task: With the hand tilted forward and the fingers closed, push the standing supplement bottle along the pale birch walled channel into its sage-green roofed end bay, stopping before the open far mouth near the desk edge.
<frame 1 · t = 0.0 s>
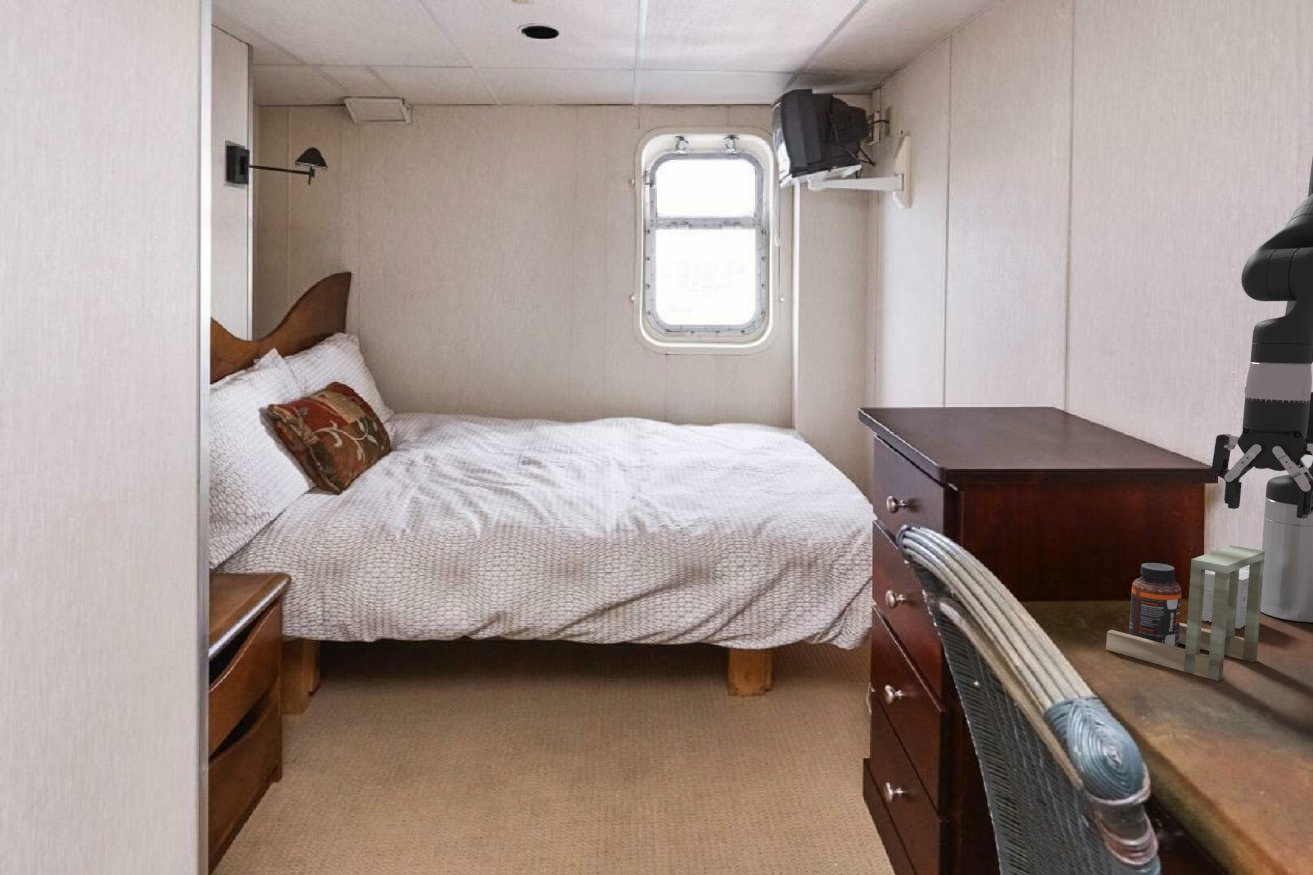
hand: (1266, 512, 131), 17 cm above the table, tool pointing down, fingers open, 8 cm apart
channel: (1180, 654, 125), on the table
supplement bottle: (1152, 649, 127), on the table
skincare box: (1225, 621, 139), on the table
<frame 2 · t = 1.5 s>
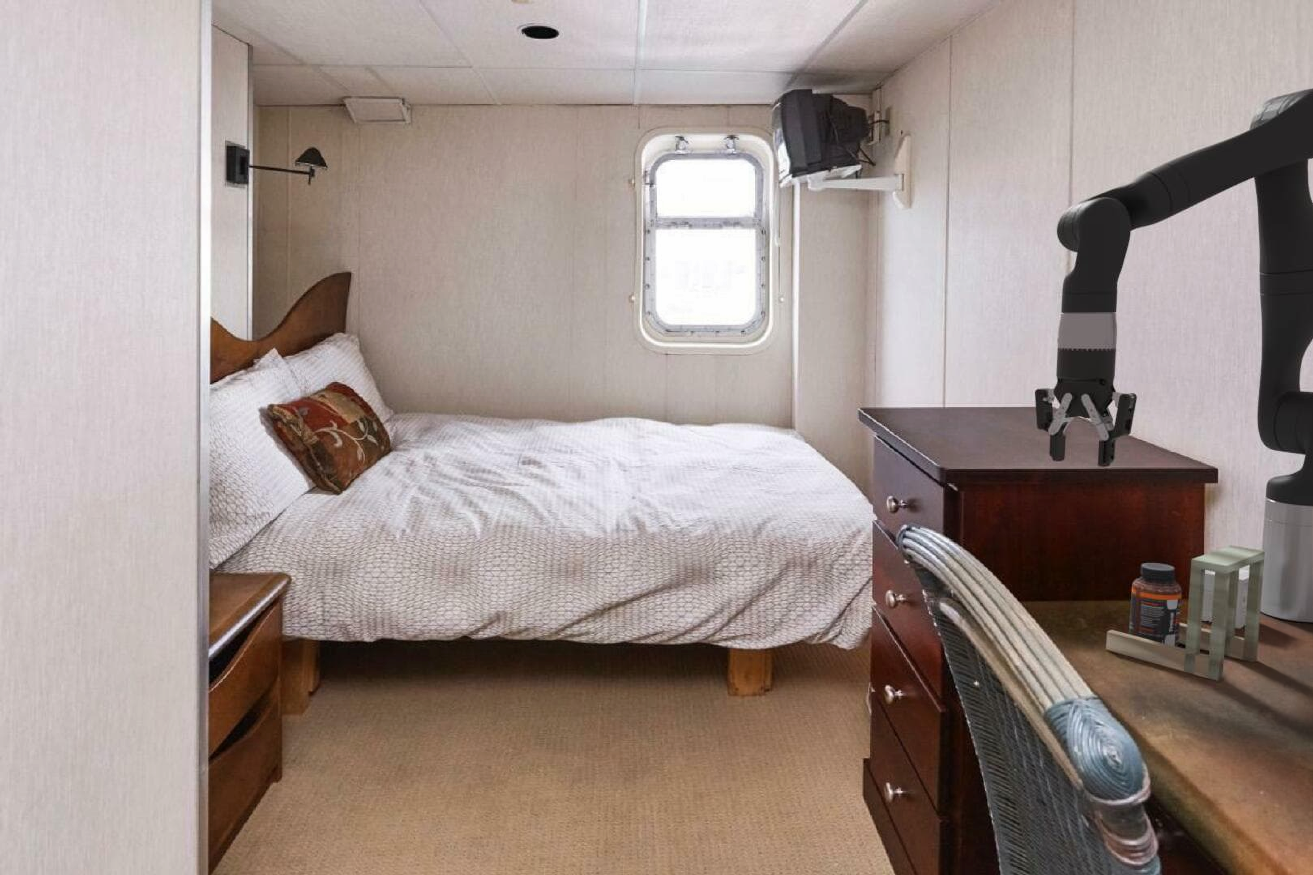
hand: (1080, 463, 134), 24 cm above the table, tool pointing down, fingers open, 6 cm apart
nothing on the table moved.
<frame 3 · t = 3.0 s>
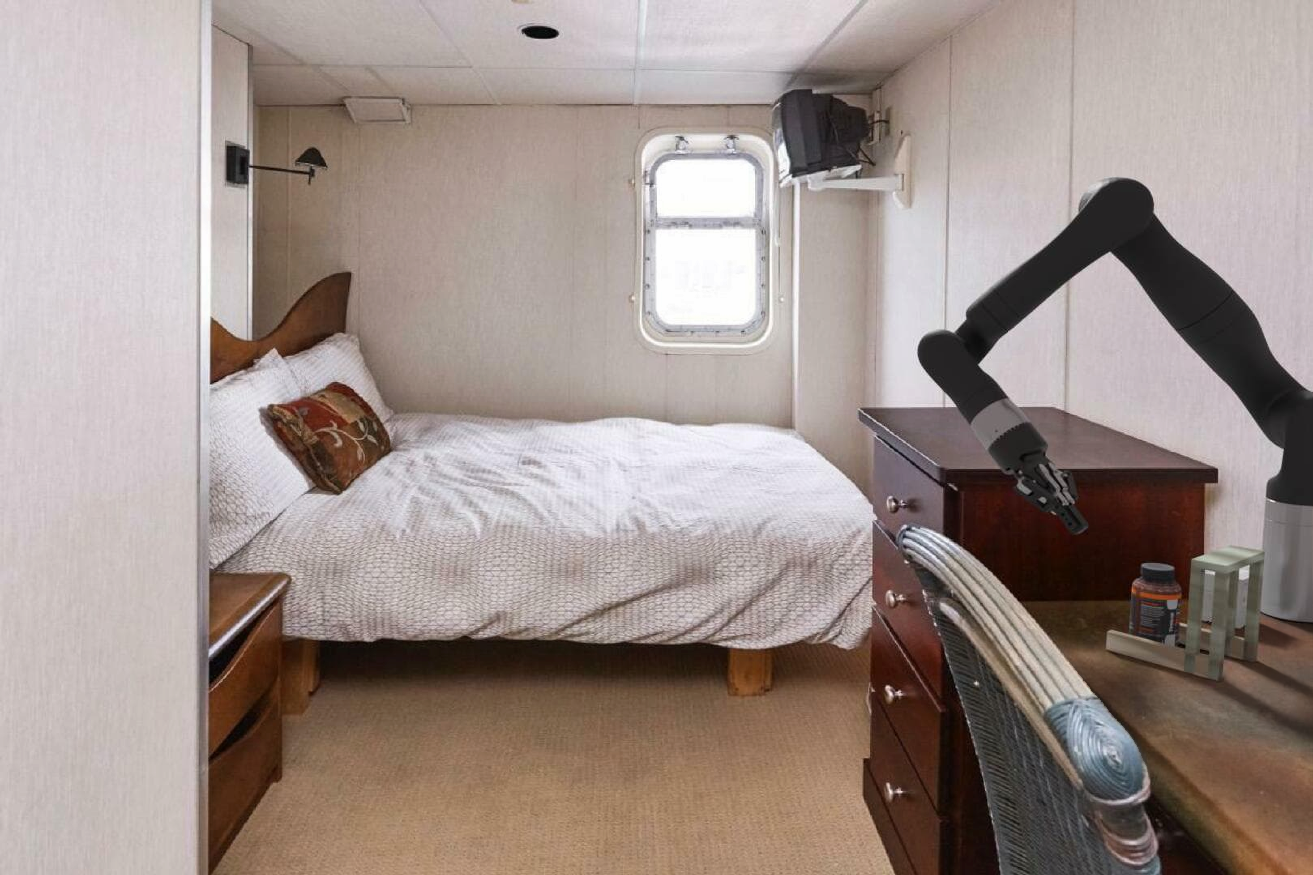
hand: (1081, 530, 134), 14 cm above the table, tool tilted 45°, fingers closed
nothing on the table moved.
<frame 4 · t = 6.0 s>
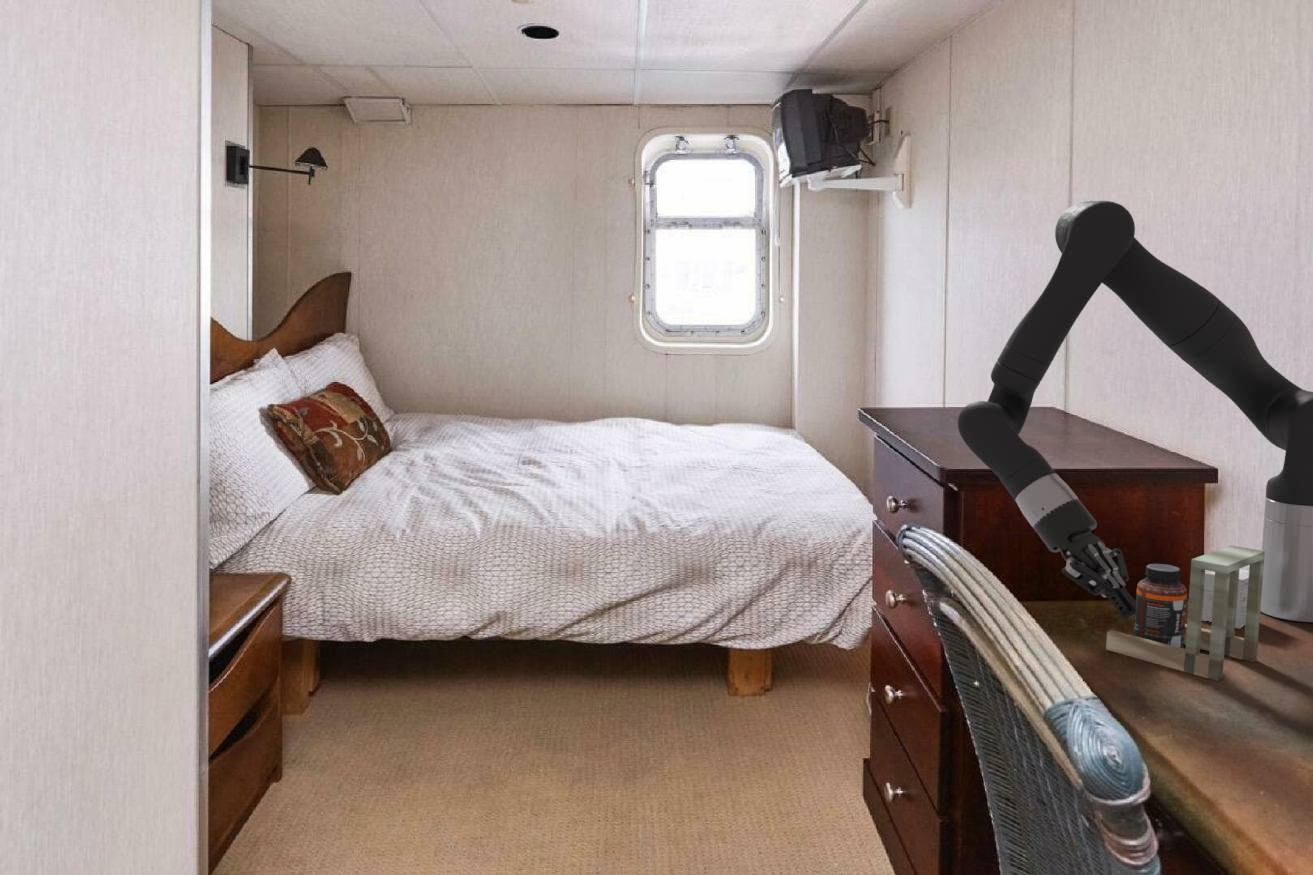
hand: (1133, 615, 129), 4 cm above the table, tool tilted 45°, fingers closed
supplement bottle: (1158, 650, 127), on the table, touching gripper
everything else where it was.
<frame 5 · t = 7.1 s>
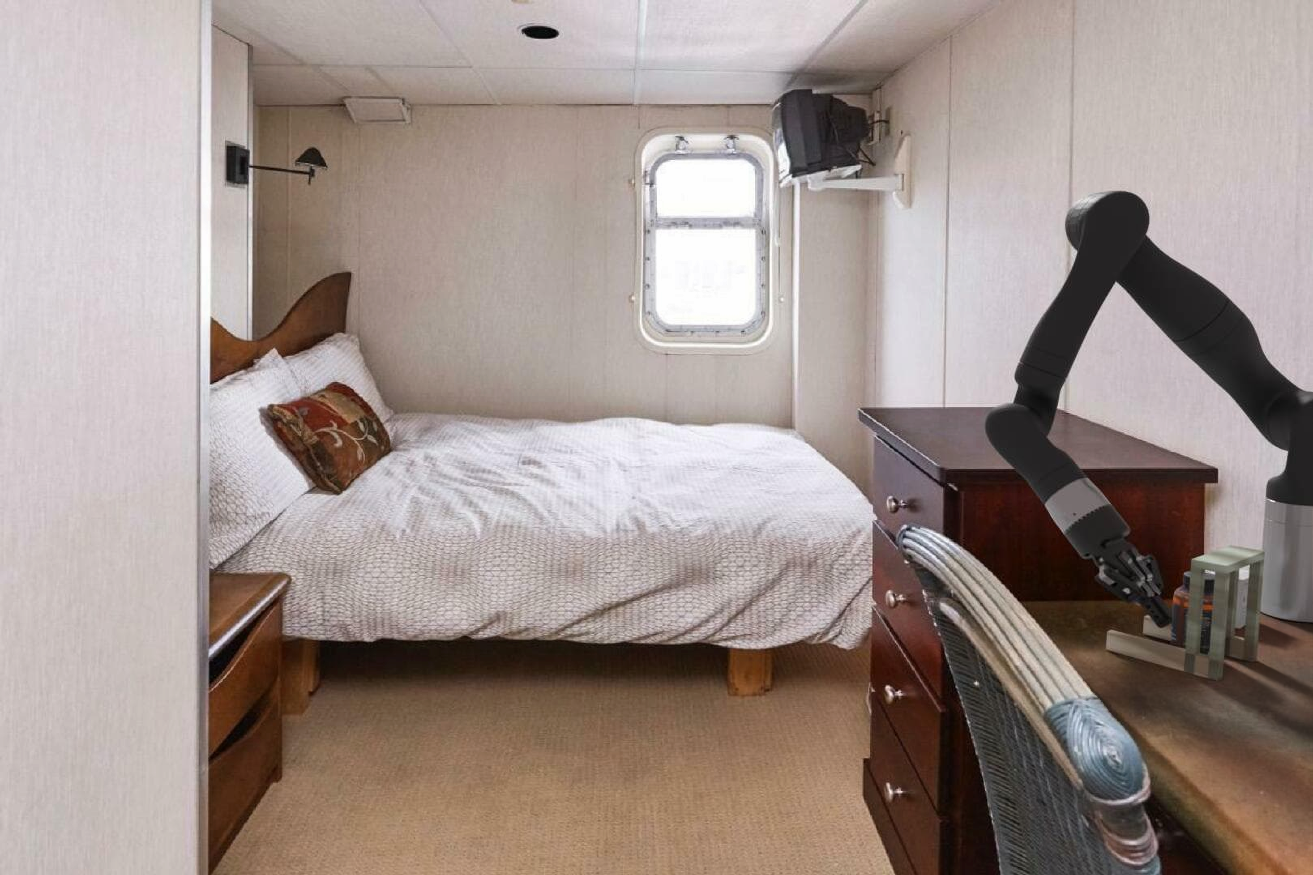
hand: (1168, 624, 125), 4 cm above the table, tool tilted 45°, fingers closed
supplement bottle: (1195, 660, 123), on the table, touching gripper
everything else where it was.
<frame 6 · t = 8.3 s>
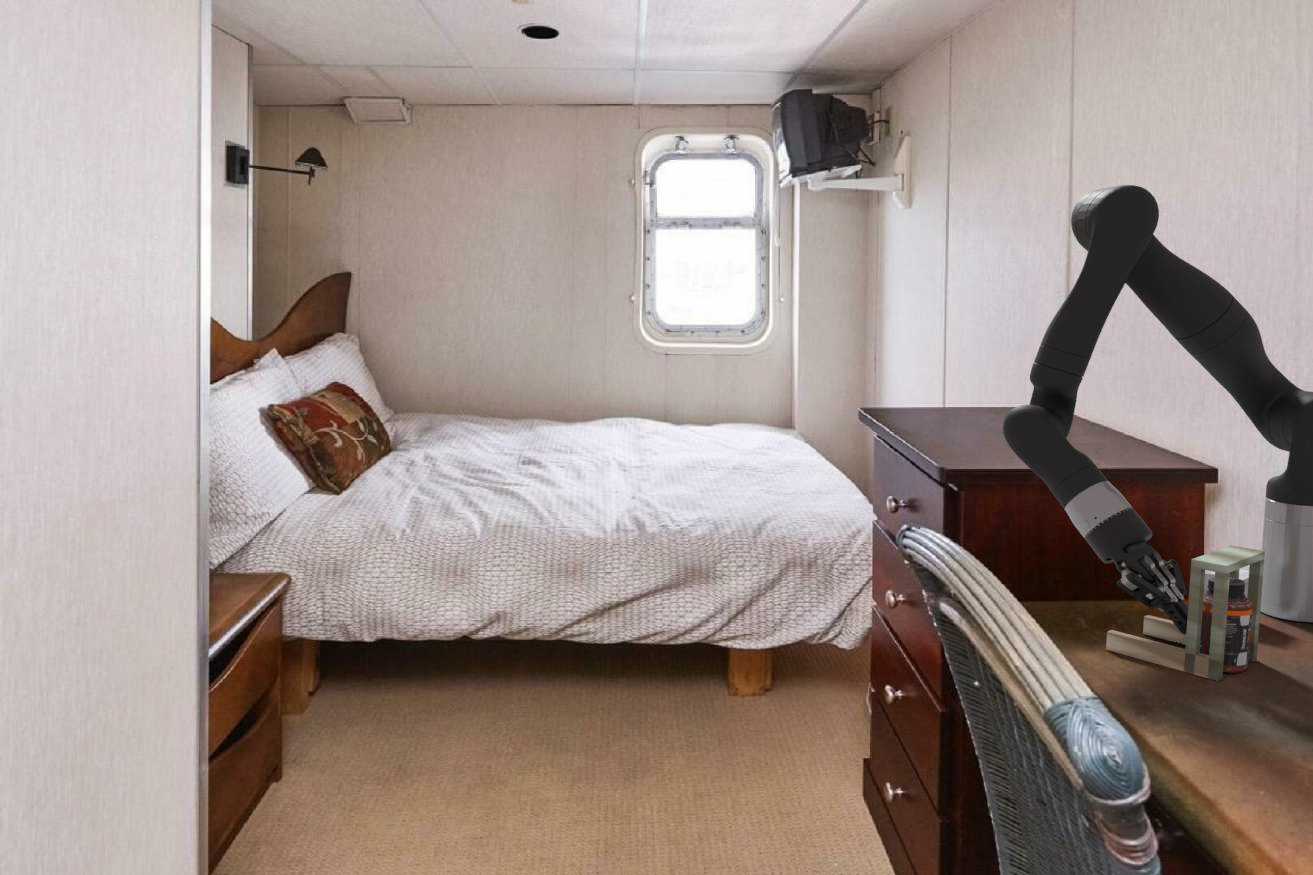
hand: (1192, 630, 123), 4 cm above the table, tool tilted 45°, fingers closed
supplement bottle: (1220, 667, 121), on the table, touching gripper
everything else where it was.
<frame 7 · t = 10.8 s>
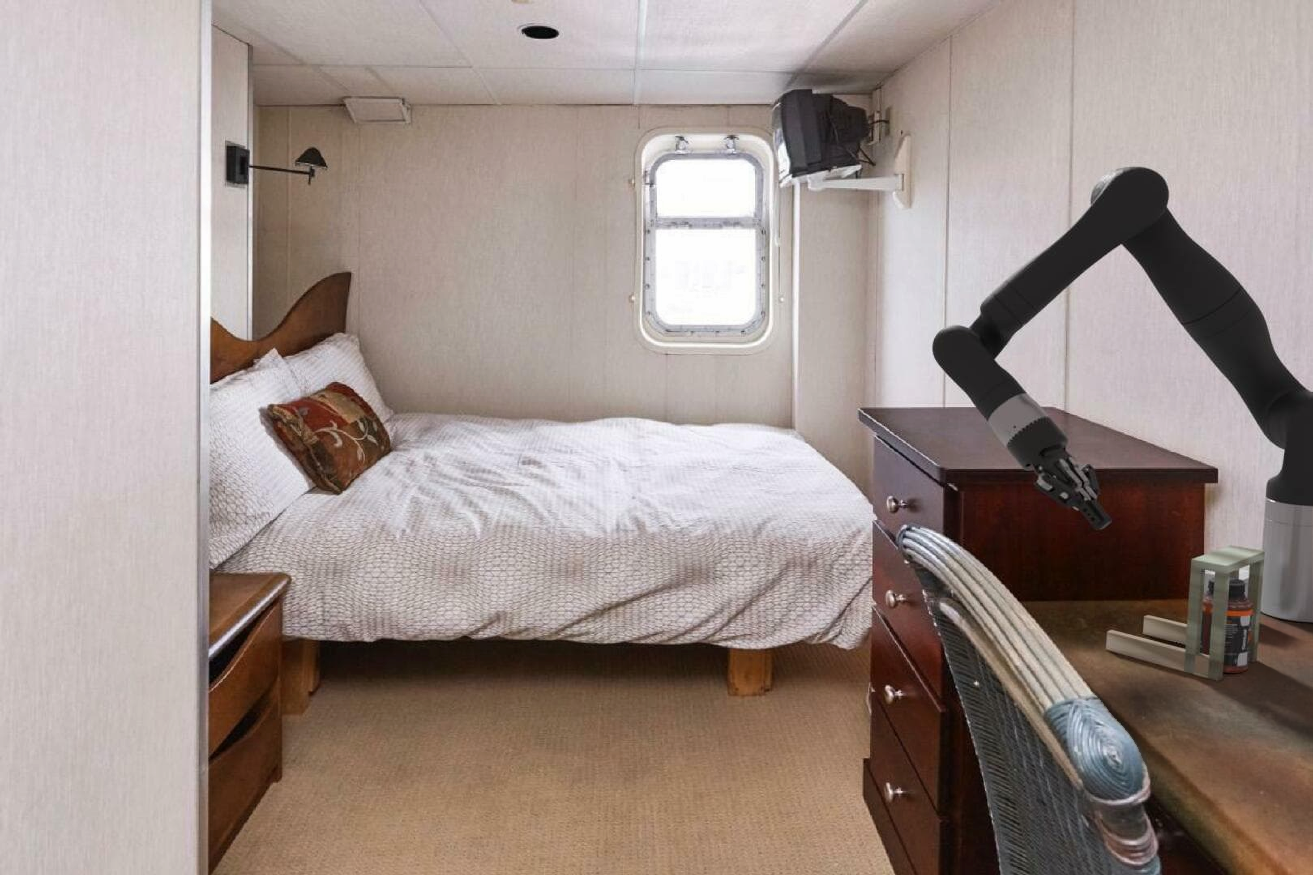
hand: (1105, 525, 131), 15 cm above the table, tool tilted 45°, fingers closed
supplement bottle: (1220, 667, 121), on the table
everything else where it was.
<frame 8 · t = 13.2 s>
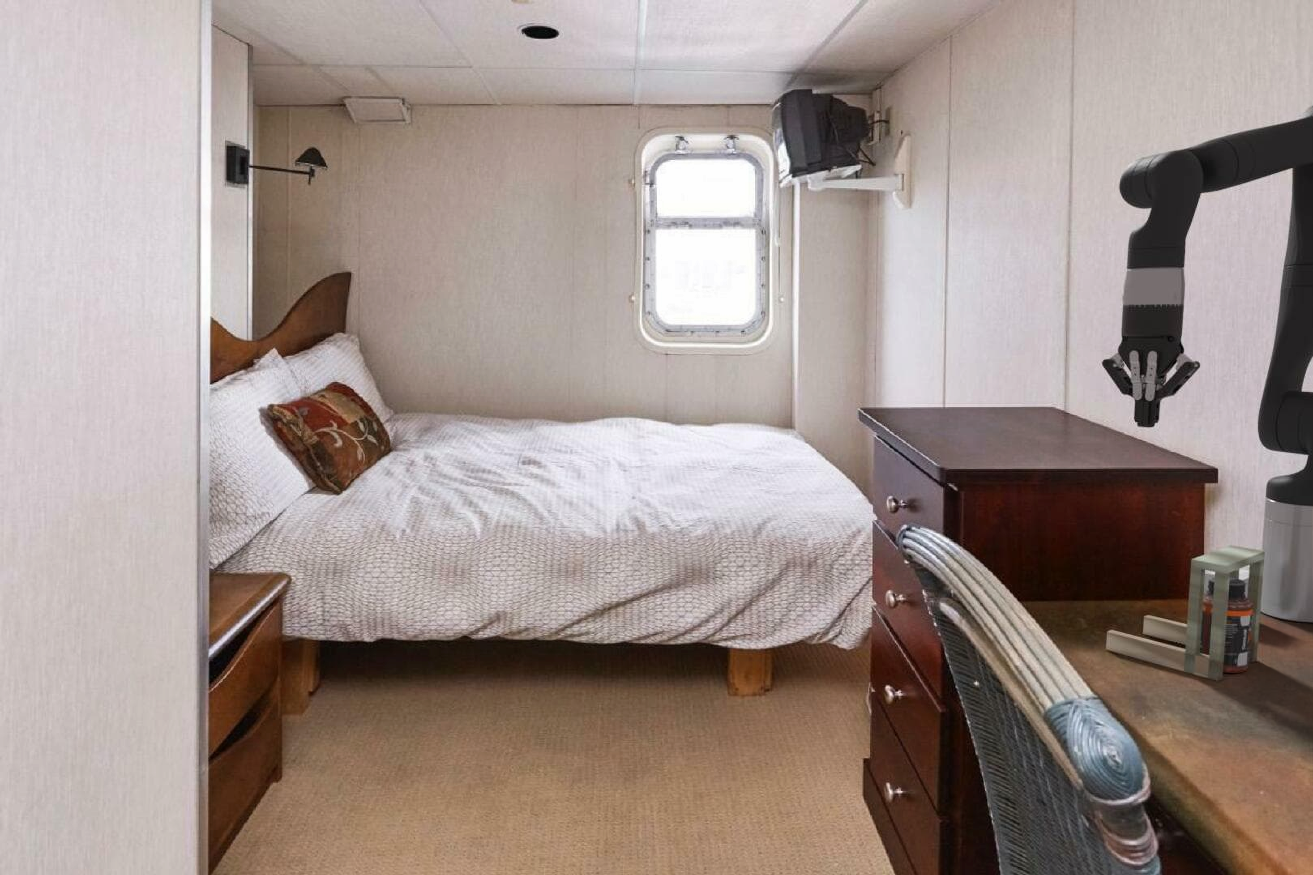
hand: (1145, 426, 133), 29 cm above the table, tool pointing down, fingers closed
nothing on the table moved.
at the end: supplement bottle inside the target area (0.4 cm from its centre), on the table; supplement bottle tilted 0°; supplement bottle moved 8.6 cm from its start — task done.
